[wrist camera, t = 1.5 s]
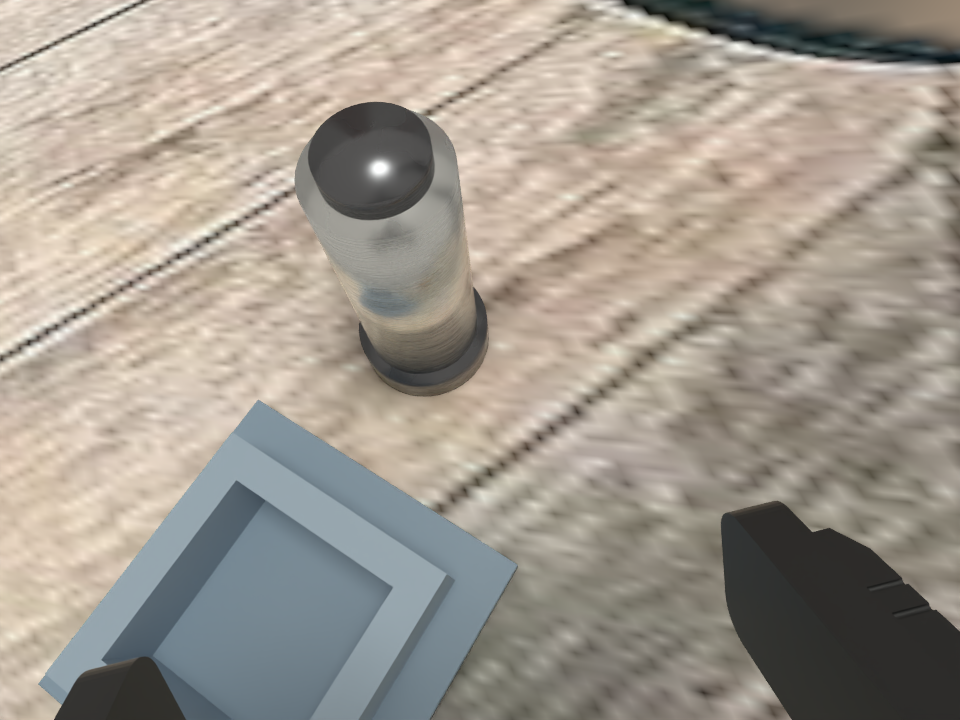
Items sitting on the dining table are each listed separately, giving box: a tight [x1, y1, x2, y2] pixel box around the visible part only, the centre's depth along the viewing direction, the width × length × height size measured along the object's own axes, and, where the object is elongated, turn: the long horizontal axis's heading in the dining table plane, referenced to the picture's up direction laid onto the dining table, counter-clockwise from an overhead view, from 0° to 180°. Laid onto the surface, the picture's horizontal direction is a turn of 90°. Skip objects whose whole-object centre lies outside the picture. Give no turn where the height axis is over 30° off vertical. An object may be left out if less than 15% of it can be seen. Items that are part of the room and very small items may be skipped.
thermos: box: [295, 102, 489, 396], centre depth 22 cm, size 5×5×12 cm
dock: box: [39, 400, 518, 720], centre depth 22 cm, size 12×12×4 cm
